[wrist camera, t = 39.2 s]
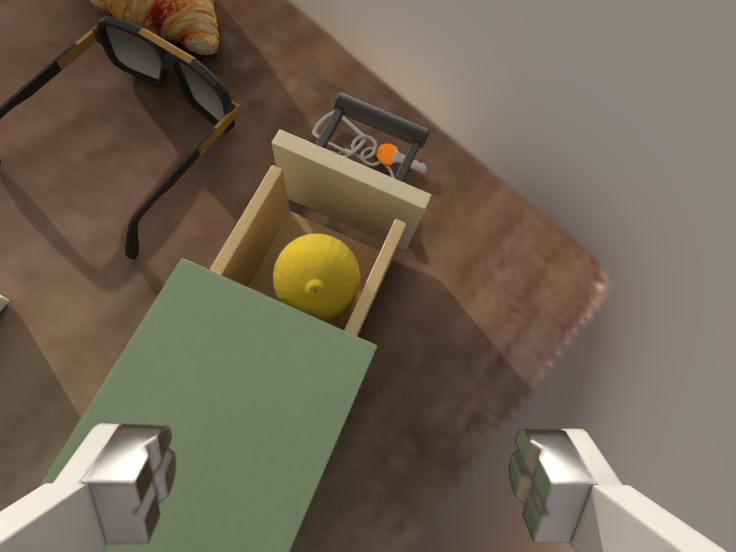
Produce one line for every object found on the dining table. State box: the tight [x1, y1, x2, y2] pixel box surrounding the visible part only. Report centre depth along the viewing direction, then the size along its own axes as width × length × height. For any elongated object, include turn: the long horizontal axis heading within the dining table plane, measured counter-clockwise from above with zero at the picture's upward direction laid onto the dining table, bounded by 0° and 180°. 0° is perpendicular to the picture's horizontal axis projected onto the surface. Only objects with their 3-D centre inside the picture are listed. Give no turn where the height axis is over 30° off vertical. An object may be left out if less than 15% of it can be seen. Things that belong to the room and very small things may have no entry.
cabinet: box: [38, 258, 377, 552], centre depth 27 cm, size 15×12×9 cm
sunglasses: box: [0, 16, 240, 260], centre depth 34 cm, size 14×15×5 cm
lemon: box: [273, 234, 360, 321], centre depth 28 cm, size 6×6×8 cm
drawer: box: [210, 92, 431, 337], centre depth 31 cm, size 20×11×7 cm, turn 157°
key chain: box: [312, 111, 427, 179], centre depth 37 cm, size 13×7×1 cm, turn 52°
